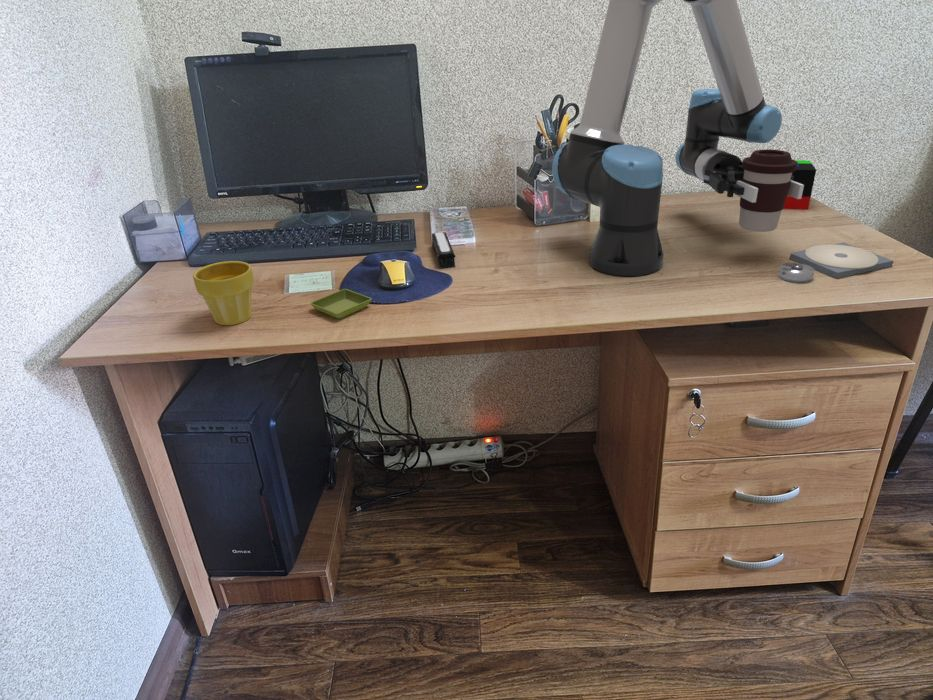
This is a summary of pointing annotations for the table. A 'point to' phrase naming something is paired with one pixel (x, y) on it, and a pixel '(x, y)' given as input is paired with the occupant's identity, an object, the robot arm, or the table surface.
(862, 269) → the disc case
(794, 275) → the grey rounded disc
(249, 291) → the plant pot
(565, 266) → the table surface
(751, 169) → the coffee cup
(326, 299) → the green rectangular tray
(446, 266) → the white-topped black block
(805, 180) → the puzzle toy
